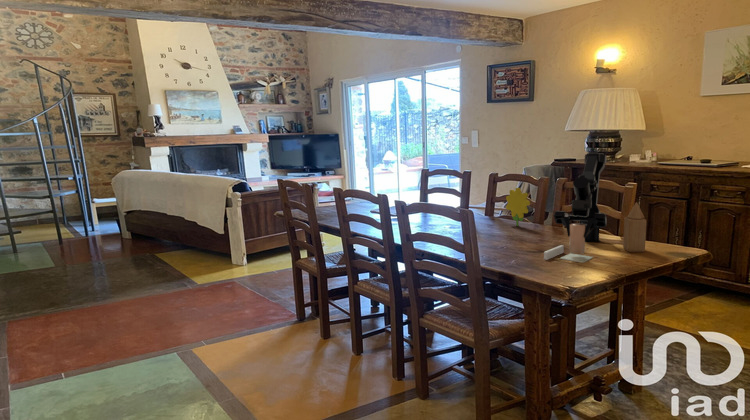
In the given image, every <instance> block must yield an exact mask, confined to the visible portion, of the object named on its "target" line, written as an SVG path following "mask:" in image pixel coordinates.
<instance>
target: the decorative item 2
mask: <svg viewBox="0 0 750 420" xmlns="http://www.w3.org/2000/svg"><path fill="white" fill-rule="evenodd" d="M638 203H639V202H637V201H636V202H635V203H634V205H633V206H632V208H631V210H630V211H629V213H628V214H627V216H625V217H624V218H623V219H624V220H623V221H624V222H623V224H624V225H623V238H622V239H623V240H622V241H623V243H622V247H623V249H624V250H625V251H627V252H629V253H632V252H633V253H636V252H637V253H644V252H645V251H646V237H647V235H646V234H647V219H645V216H644V214H643V212H642V209H641V207H640V206H639V204H638Z"/></svg>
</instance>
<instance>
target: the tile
mask: <svg viewBox="0 0 750 420" xmlns="http://www.w3.org/2000/svg"><path fill="white" fill-rule="evenodd" d="M559 259H560V260H563V261H564V260H565V261H571V262H576V263H582V264H584V263H585V262H588V261H590V260H592V259H594V256H589V255H585V254H571V253H568V254H566V255H563V256H561V257H560V258H559Z"/></svg>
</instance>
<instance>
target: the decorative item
mask: <svg viewBox="0 0 750 420" xmlns="http://www.w3.org/2000/svg"><path fill="white" fill-rule="evenodd" d="M528 195H529V194H528V192H522V189H521V188H520V187H515V189H510V190H509V195H507V196H505V199H506V201H507V204H506V205H505V209H506V210H508V211H511V217H512V220H513V221H516V222H515V223H516V226H517V227H519V221H520V222H523V220H524V216H525V215H524V214H528V213H529V209H528V206H530V205H531V201H530V200H529V199H528Z"/></svg>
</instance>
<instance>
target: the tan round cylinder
mask: <svg viewBox="0 0 750 420" xmlns="http://www.w3.org/2000/svg"><path fill="white" fill-rule="evenodd" d="M584 233H585V224H580V222H578V223H576V222H575V223H573V222H572V223H570V236H569V239H568V240H569V241H568V242H569V245H568V247H569V248H568V254H570V253H571V254H578V255H585V246H586V245H585V244H586V242H585V238H584Z"/></svg>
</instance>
